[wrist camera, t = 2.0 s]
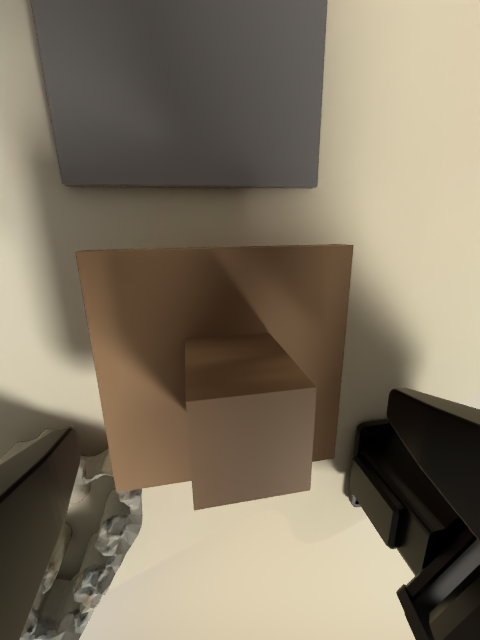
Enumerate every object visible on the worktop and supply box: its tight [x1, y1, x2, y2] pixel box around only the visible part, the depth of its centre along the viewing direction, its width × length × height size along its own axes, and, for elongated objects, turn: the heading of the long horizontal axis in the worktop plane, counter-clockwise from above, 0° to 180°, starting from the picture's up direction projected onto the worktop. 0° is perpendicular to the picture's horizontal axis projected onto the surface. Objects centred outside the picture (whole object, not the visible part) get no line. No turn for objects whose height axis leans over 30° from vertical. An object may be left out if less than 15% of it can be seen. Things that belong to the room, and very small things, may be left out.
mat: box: [31, 0, 327, 188], centre depth 12 cm, size 11×10×1 cm
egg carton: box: [0, 429, 142, 640], centre depth 15 cm, size 11×8×4 cm
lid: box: [76, 244, 353, 510], centre depth 9 cm, size 9×9×5 cm
